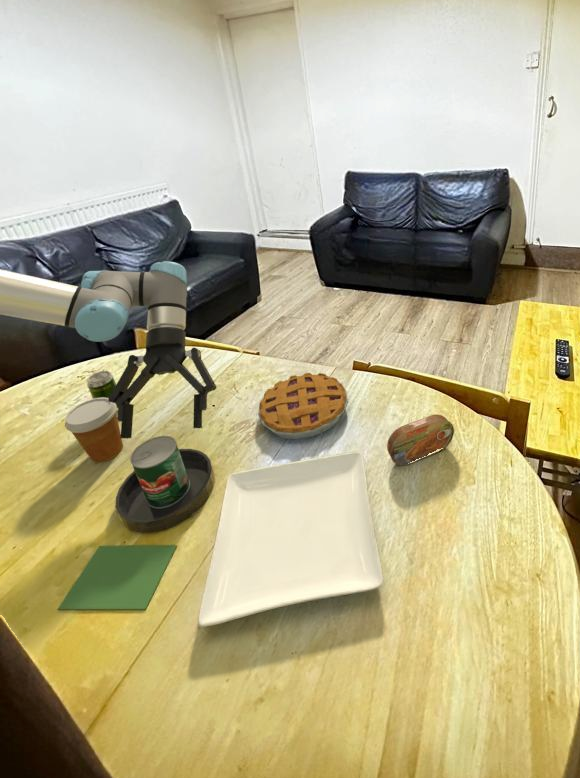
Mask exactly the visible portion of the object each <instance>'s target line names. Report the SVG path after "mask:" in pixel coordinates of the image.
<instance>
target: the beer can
mask: <svg viewBox="0 0 580 778" xmlns="http://www.w3.org/2000/svg"><path fill="white" fill-rule="evenodd" d="M116 384H117V383H116V380H115V378H114V376H113V374H112V373H111V372H110V371H109V370H103V371H99V372H96V373H94V374H92V375H90V376H89V377H88V378H87V379H86V385H87V388H88V392H89V393H90V396H91V399H94V398H101V397H105V398H109V397H110V395H111V393H112V391H113V390H114V388H115V386H116ZM116 405H117V409H116V415H117V419H118V404H117V403H116Z"/></svg>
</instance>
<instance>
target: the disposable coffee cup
mask: <svg viewBox="0 0 580 778" xmlns="http://www.w3.org/2000/svg"><path fill="white" fill-rule="evenodd" d="M108 399H109V398H105V397H101V398H94V399H93V398H91V399H88V400H85V401H83V402H81V403H79V404H77V405H76V406H74V407H73V408H72V409H70V410H69V411H68V412H67V413H66V416H65V421H64V427H65V429H66V430H67V431H69V432H70V433H71V434H72V435H73V437H74V438H75V439H76V440H77V442H78V443H79V445H80V446H81V448H82V449H83V451H84V452H85V453H86V454H87V456H88V457H89V459H90V460H91V462H93V463H97V464H99V463H104V462H108V461H110V460H112V459H114V458H115V457H117V456H118V455H119V454H120V453H121V452H122V450H123V448H124V444H123V443H124V442H123V438H121V428H120V423H119V421H118V419H117V415H116V409H117V405H116V403H113V402H109V401H108Z"/></svg>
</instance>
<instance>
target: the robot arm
mask: <svg viewBox="0 0 580 778" xmlns="http://www.w3.org/2000/svg"><path fill="white" fill-rule="evenodd" d="M81 279H82V280H81V283H80V286H78V285H77V286H76V285H73V284H69V283H65V282H60V281H55V280H50V279H46V278H41V277H37V276H33V275H29V274H28V275H27V274H24V273H19V272H15V271H10V270H7V269H1V268H0V316H1V315H2V316H8V317H13V318H18V319H23V320H30V321H35V322H41V323H47V324H51V325H52V324H53V325H56V326H57V325H59V326H63V327H68V328H73V329H75V330H76V332H77V334H79V335H80V336H81V337H83V338H85V339H86V340H87V341H91V342H95V343H96V342H97V343H100V342H101V343H103V342H108V341H110V340H113V339H115V338H116V337H118V336H119V335H120V334H121V333H122V331H123V330H124V328H125V325H126V324H127V323H128V321H129V318H130V317H129V314H130V310H131V308H132V307H147V320H146V329H147V332H146V336H145V337H146V338H145V353H144V355H134V354H131V355H129V356H128V359H127V363H126V364H127V365H126V367H125V369H124V371H123V372H122V373H121V375H120V377H119V379H118V381H117V383H116V386H115V388H114V390H113V391H112V393H111V395H110V397H109V399H108V401H109V402H113V403H117V404H118V422H121V424H120V425H121V426H120V434H121V438H122V439H127V440H128V439H132V437H133V436H132V435H133V421H134V420H133V419H134V404H133V403H132V401H133V400H134V399H135V398H136V397H137V395H138V394H139V393H140V392H141V391H142V389H143V388H144V387H145V386H146V385H147V383H148V382H149V381H151V379H153V378H154V377H155V376H156V375H158V376H162V375H166V374H175V373H176V372H177V373H178V374H180V375H181V376H182V377H183V378H184V379H185V380H186V381H187V383H188V384H190V385H191V387H192V388H193V389H194V390H195V391H196V392H197V393H196V394H193V421H192V422H193V423H192V424H193V426H192V427H193V429H202V428H203V411H207V408H208V394H209V393H210V392H214V391H216V390H217V385H216V383H215V381H214V379H213V378H212V376H211V374H210V372H209V370H208V368H207V367H206V365H205V363H204V361H203V359H202V352H201V350H200V349H198V348H197V347H191V349H189V350H186V335H187V333H186V331H185V329H186V327H187V323H186V322H187V297H188V296H187V295H188V281H187V280H188V279H187V270H186V268H185V266H183V265H182V264H180V263H177V262H176V261H175V262H174V261H165V260H164V261H161V262H160V261H158V262H157V261H156V262H155V263H153V264H152V265H151V266H150V268H149V270H148V271H143V272H142V271H118V270H107V269H102V270H89V271H87V272H85V273H84V274H83V276H82V278H81ZM187 358H188V359H189V360H191V361H192V362H193V364H194V367H195V368H196V370H197V372H198V373H199V376H200V377H201V379H202V381H203V383H204V384H202V383H201V382H200V381H199V380H198V379H197V378H196V377H195V375H193V374H192V373H191V372H190V371H189V370H188V369H189V368H187V367H186V366H185V365H184V364H183V363H184V362H185V361H186V359H187ZM143 363H144V364H145V366H144V367H143V368H142V370H141V371H140V374H139V375H138V376H136V375H137V372H138V370H139V368H140V367H141V366H142V365H143ZM135 376H136V379H134V378H135ZM131 403H132V404H131Z"/></svg>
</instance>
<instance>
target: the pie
mask: <svg viewBox="0 0 580 778" xmlns="http://www.w3.org/2000/svg"><path fill="white" fill-rule="evenodd" d="M348 403H349V399H348V393H347V390H346V388H345V387H344V385H343V383H341V382H340V381H339V380H338V379H337V378H336V377H334V376H333V377H331V376H328V375H327V374H325V373H322V372H319V373H318V374H312V373H311V372H305V373H304V374H303V375H299V376H297V375H296V374H295V375H291V376H290V377H289V378H288V379H286V380H284V381H283V380H280V381H278V382H276V383H274V386H273V387H272V388H267V390H266V391H265V392H264V395H263V397H262V398H261V400H260V401H259V406H258V413H257V415H258V417H259V420H260V421H261V424H262V426H263V427H264V428H266V429H268V430H269V431H271V432H272V433H273V434H275V435H276V436H278V437H279V438H280V439H285V440H286V439H287V440H300V439H301V440H302V439H305V438H313V437H315V436H317V435H320V434H322V433H324V432H326V431H329V430H330V429H331V428H332V427H334V426H335V425H336V424H337V423H339V422H340V419H341V416H342V415H344V413H345V410H346V408H347V405H348Z"/></svg>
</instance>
